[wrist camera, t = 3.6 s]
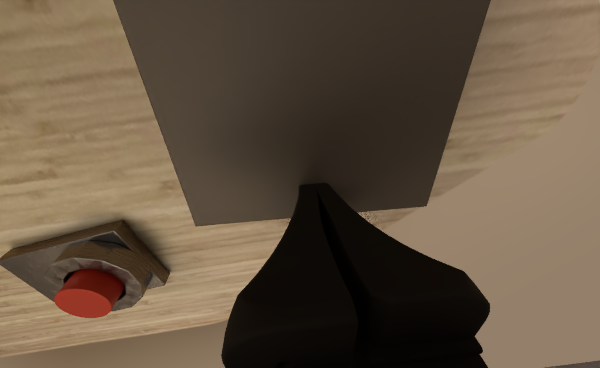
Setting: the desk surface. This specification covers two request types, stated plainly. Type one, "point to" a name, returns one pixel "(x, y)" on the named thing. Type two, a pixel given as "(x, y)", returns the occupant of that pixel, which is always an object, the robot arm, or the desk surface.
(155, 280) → the button block
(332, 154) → the lid
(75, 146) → the desk surface
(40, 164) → the desk surface
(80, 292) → the button
